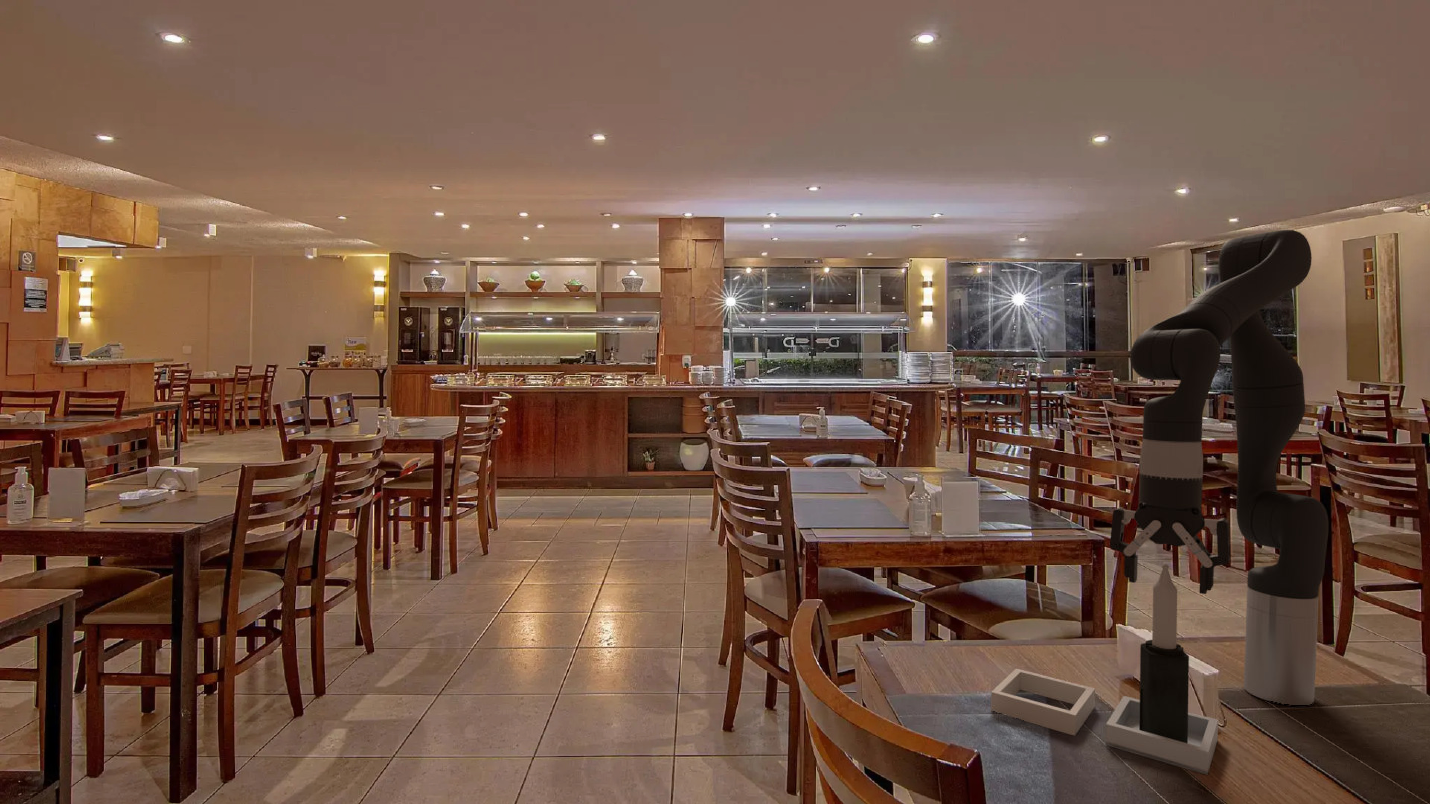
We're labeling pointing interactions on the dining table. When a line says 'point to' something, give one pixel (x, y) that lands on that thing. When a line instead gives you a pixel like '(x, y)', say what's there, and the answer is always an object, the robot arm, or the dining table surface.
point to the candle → (1164, 669)
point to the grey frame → (1041, 712)
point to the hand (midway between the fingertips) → (1167, 586)
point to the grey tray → (1163, 738)
